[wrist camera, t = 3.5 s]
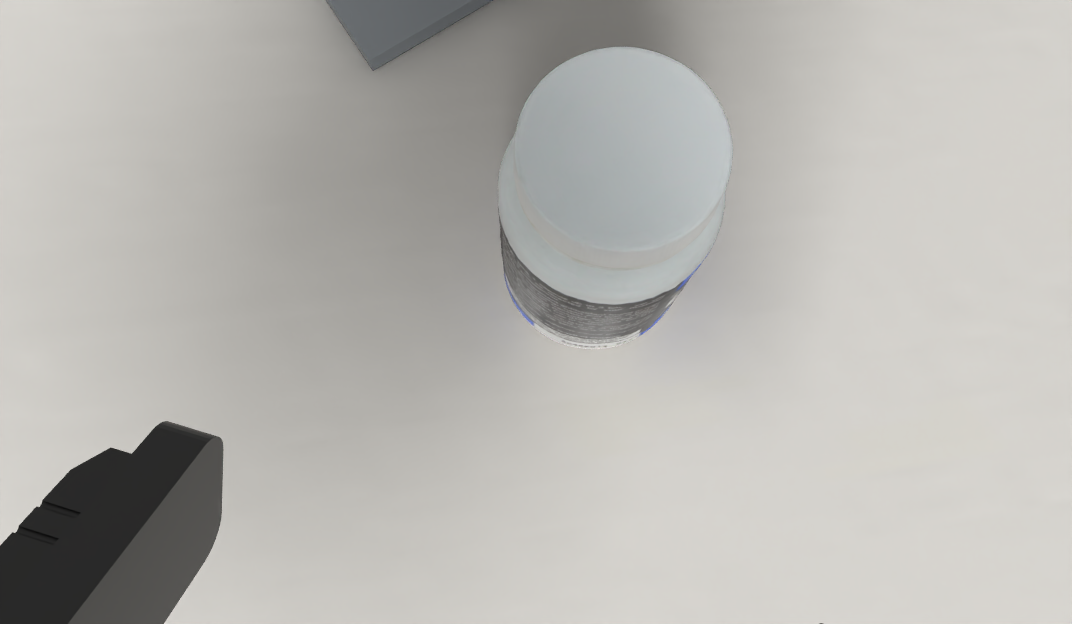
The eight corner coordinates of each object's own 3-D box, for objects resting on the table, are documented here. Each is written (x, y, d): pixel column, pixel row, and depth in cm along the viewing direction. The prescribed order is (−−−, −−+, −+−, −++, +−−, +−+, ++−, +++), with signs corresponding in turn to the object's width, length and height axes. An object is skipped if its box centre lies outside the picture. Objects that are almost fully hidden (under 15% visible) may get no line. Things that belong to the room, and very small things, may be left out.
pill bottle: (685, 347, 24) (768, 269, 16) (506, 355, 24) (497, 280, 16) (671, 177, 25) (744, 20, 17) (500, 183, 25) (488, 28, 17)
